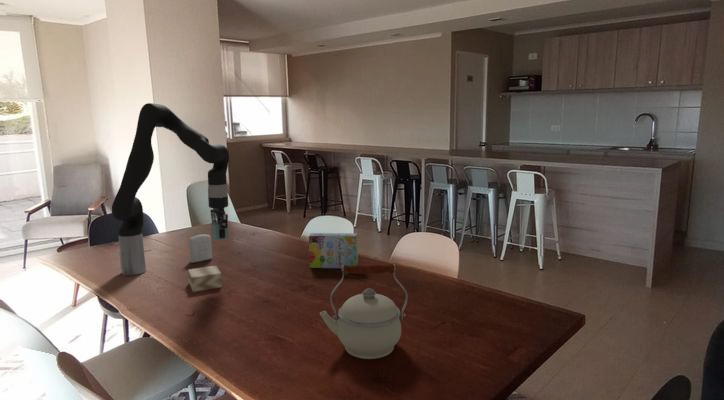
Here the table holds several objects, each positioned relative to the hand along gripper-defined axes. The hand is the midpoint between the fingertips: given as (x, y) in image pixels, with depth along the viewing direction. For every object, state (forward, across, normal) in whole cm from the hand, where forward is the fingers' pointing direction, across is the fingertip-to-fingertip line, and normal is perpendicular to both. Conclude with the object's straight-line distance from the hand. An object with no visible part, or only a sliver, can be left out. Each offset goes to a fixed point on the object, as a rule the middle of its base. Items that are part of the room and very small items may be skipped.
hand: (220, 236), depth 186 cm
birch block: (+19, +1, -7) cm, 20 cm away
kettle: (+18, +81, +13) cm, 84 cm away
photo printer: (+19, -33, +2) cm, 38 cm away
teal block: (+1, 0, 0) cm, 1 cm away
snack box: (+18, +14, +46) cm, 51 cm away
